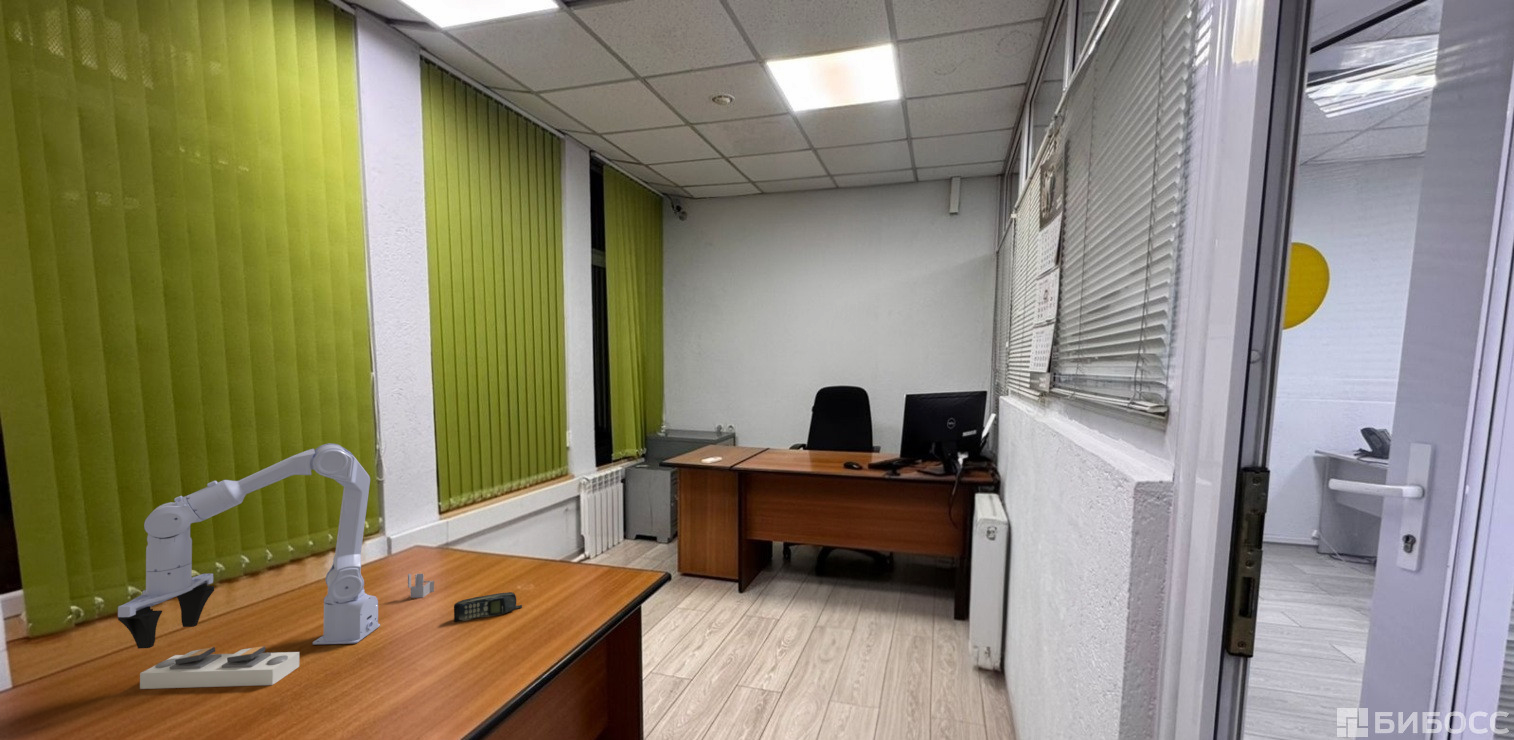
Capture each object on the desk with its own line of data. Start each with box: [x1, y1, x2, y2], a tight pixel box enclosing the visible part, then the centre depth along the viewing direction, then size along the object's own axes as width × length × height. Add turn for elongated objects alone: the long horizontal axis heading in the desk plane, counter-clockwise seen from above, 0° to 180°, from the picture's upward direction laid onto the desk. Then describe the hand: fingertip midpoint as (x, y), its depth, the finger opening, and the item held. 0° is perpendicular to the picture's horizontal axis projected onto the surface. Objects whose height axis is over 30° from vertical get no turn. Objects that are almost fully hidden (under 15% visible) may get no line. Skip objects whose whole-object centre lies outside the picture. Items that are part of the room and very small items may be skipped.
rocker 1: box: [175, 646, 216, 664], centre depth 98 cm, size 4×3×1 cm
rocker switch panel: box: [139, 651, 300, 690], centre depth 98 cm, size 24×6×4 cm, turn 93°
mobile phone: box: [453, 591, 523, 623], centre depth 124 cm, size 5×3×15 cm
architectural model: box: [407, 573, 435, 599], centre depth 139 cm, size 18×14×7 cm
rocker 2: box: [227, 645, 266, 663], centre depth 99 cm, size 4×3×1 cm
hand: (168, 636), depth 96 cm, fingers open, 7 cm apart
